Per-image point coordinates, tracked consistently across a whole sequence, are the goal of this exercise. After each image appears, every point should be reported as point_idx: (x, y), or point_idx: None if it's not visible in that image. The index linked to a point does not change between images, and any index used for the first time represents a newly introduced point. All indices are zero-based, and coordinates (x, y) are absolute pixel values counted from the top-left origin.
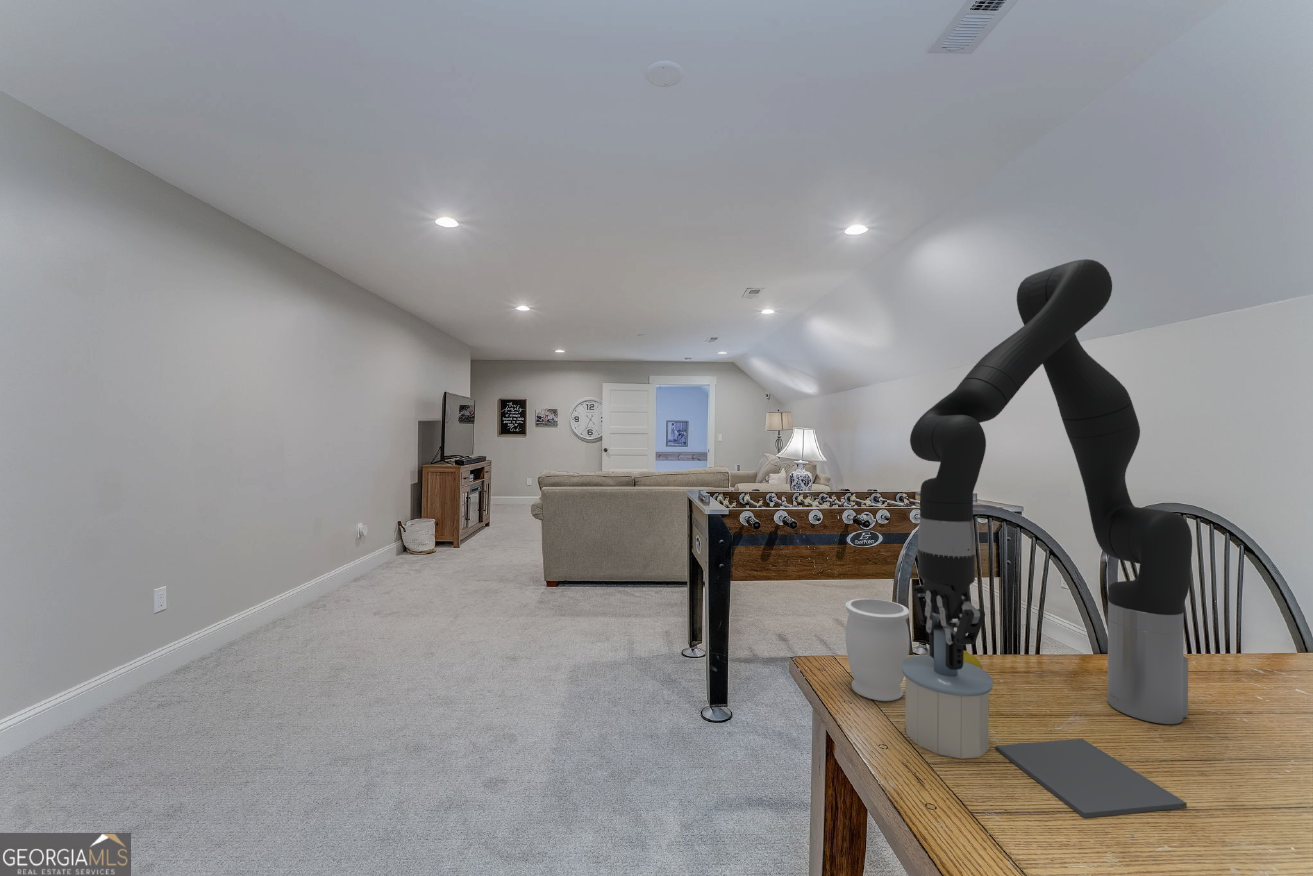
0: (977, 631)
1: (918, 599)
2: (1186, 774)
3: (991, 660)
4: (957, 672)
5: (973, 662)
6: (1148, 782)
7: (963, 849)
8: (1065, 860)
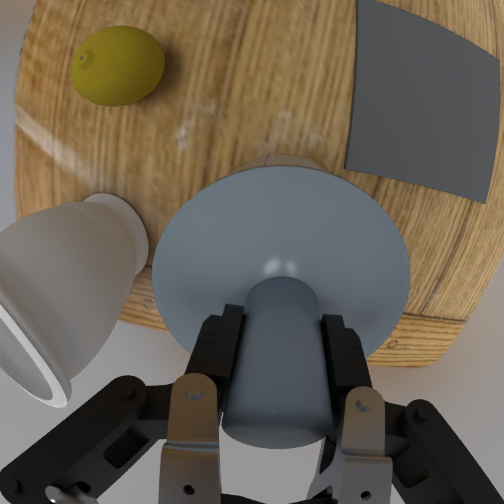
0: (462, 454)
1: (97, 495)
2: None
3: None
4: (315, 297)
5: (122, 51)
6: (469, 47)
7: (436, 347)
8: (488, 279)
